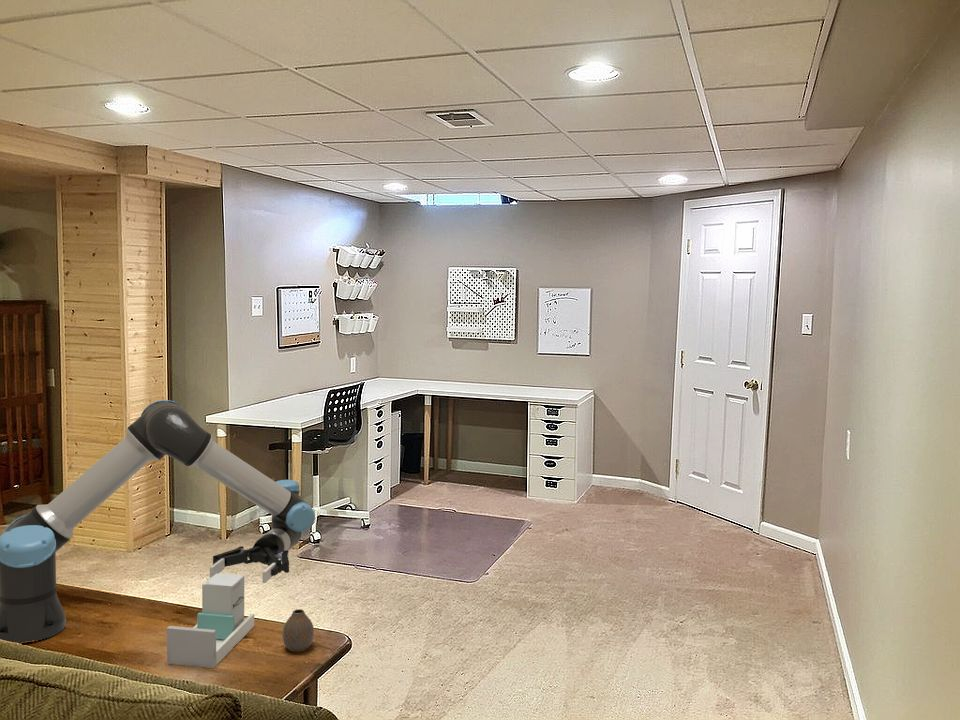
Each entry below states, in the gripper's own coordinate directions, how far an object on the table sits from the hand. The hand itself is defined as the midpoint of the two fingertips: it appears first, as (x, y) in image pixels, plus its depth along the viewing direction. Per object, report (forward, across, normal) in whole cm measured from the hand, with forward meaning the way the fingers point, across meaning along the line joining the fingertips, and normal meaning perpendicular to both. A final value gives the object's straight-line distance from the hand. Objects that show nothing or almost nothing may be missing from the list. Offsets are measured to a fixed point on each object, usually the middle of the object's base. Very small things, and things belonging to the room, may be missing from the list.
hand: (237, 575), depth 193 cm
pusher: (+13, -1, -10) cm, 16 cm away
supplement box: (+9, -1, -10) cm, 14 cm away
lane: (+14, -1, -11) cm, 18 cm away
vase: (+13, -20, -11) cm, 26 cm away
